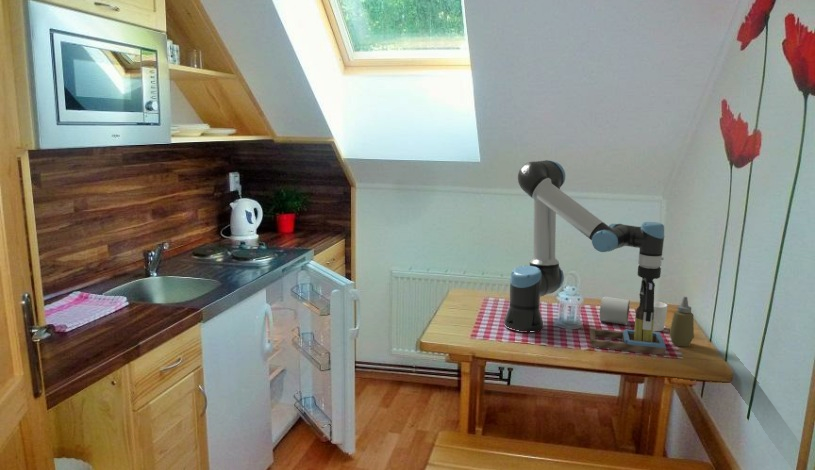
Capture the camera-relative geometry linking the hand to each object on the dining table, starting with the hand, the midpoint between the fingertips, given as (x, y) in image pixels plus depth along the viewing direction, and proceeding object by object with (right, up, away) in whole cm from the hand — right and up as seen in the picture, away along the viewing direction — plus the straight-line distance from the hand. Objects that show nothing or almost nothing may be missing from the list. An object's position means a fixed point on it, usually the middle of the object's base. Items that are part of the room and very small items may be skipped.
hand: (644, 323), depth 211 cm
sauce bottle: (0, -9, +2) cm, 9 cm away
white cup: (+12, -5, +20) cm, 24 cm away
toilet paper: (-2, -4, +27) cm, 27 cm away
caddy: (-6, -8, +3) cm, 10 cm away
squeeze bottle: (+15, -8, +4) cm, 18 cm away
